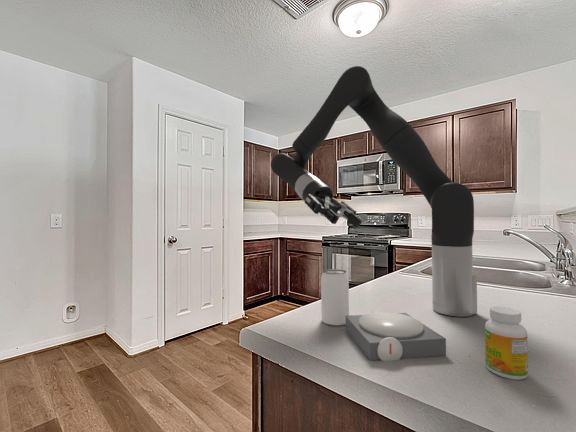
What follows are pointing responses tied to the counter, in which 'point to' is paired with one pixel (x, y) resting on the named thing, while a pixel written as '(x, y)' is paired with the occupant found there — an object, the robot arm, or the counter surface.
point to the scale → (394, 336)
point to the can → (334, 297)
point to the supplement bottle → (506, 344)
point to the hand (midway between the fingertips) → (348, 222)
